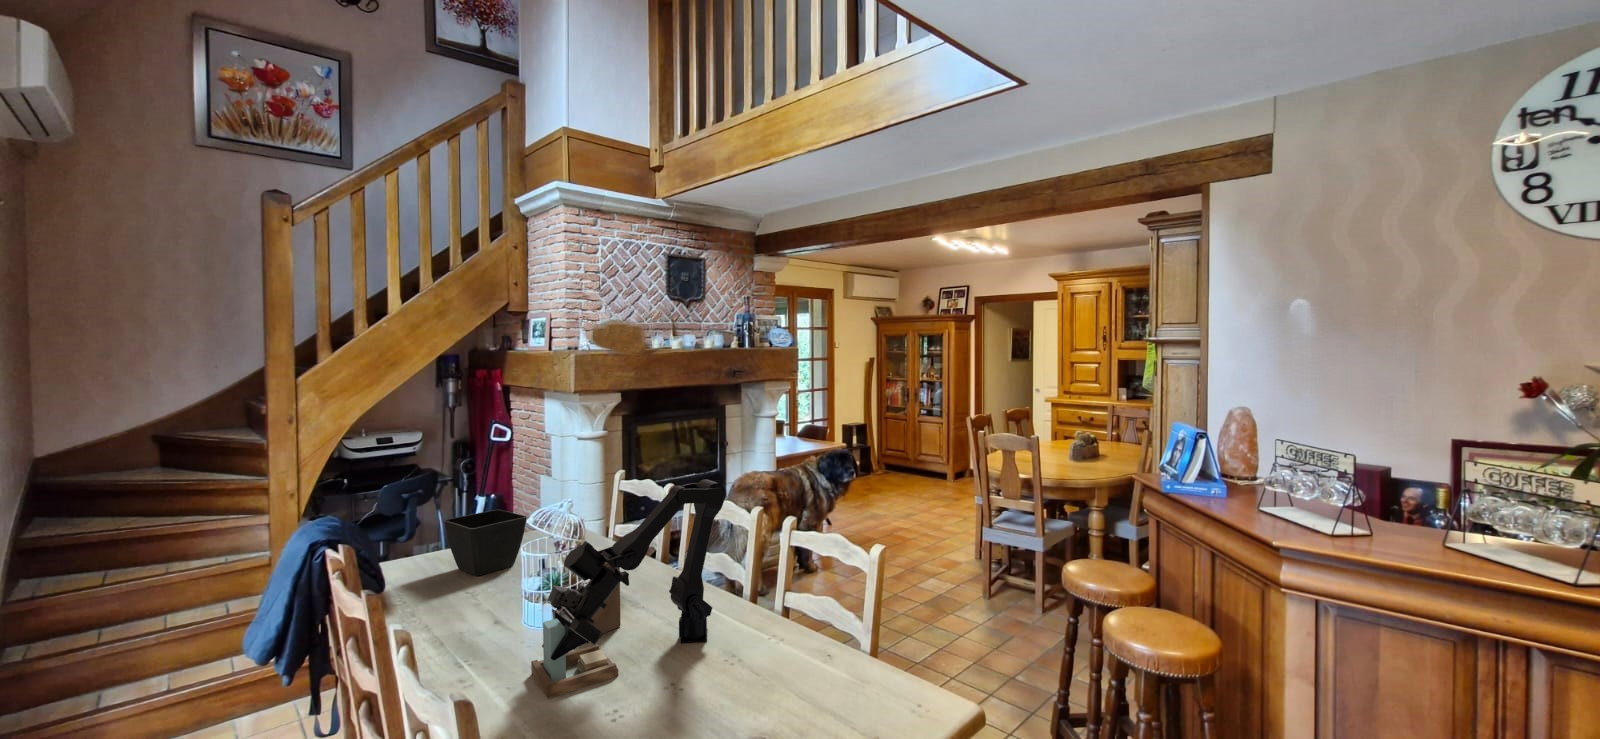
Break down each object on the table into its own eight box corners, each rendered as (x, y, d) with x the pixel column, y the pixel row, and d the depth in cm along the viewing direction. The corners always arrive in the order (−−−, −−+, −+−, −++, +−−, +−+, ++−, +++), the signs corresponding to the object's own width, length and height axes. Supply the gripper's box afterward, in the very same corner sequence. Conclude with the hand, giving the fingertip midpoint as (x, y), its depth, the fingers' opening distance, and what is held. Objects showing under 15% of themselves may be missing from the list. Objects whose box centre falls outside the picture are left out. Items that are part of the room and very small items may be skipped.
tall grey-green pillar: (557, 673, 139) (556, 618, 138) (566, 684, 134) (565, 627, 133) (543, 677, 137) (542, 622, 136) (551, 689, 132) (550, 631, 132)
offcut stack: (599, 662, 144) (599, 648, 144) (609, 672, 139) (609, 658, 139) (577, 669, 141) (577, 655, 141) (586, 680, 136) (586, 665, 136)
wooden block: (591, 639, 155) (590, 568, 154) (580, 634, 157) (579, 564, 157) (621, 626, 162) (620, 558, 162) (610, 622, 165) (609, 555, 164)
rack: (598, 653, 147) (598, 641, 147) (618, 675, 138) (618, 662, 137) (531, 674, 138) (531, 661, 138) (547, 699, 128) (547, 684, 128)
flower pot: (499, 554, 220) (498, 507, 220) (529, 565, 209) (528, 515, 209) (443, 570, 205) (442, 519, 204) (472, 582, 194) (471, 529, 193)
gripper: (558, 560, 144) (508, 620, 138) (585, 584, 130) (530, 652, 123) (593, 586, 149) (546, 644, 143) (622, 611, 135) (571, 678, 128)
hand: (547, 653), depth 134 cm, fingers closed on tall grey-green pillar, 6 cm apart
